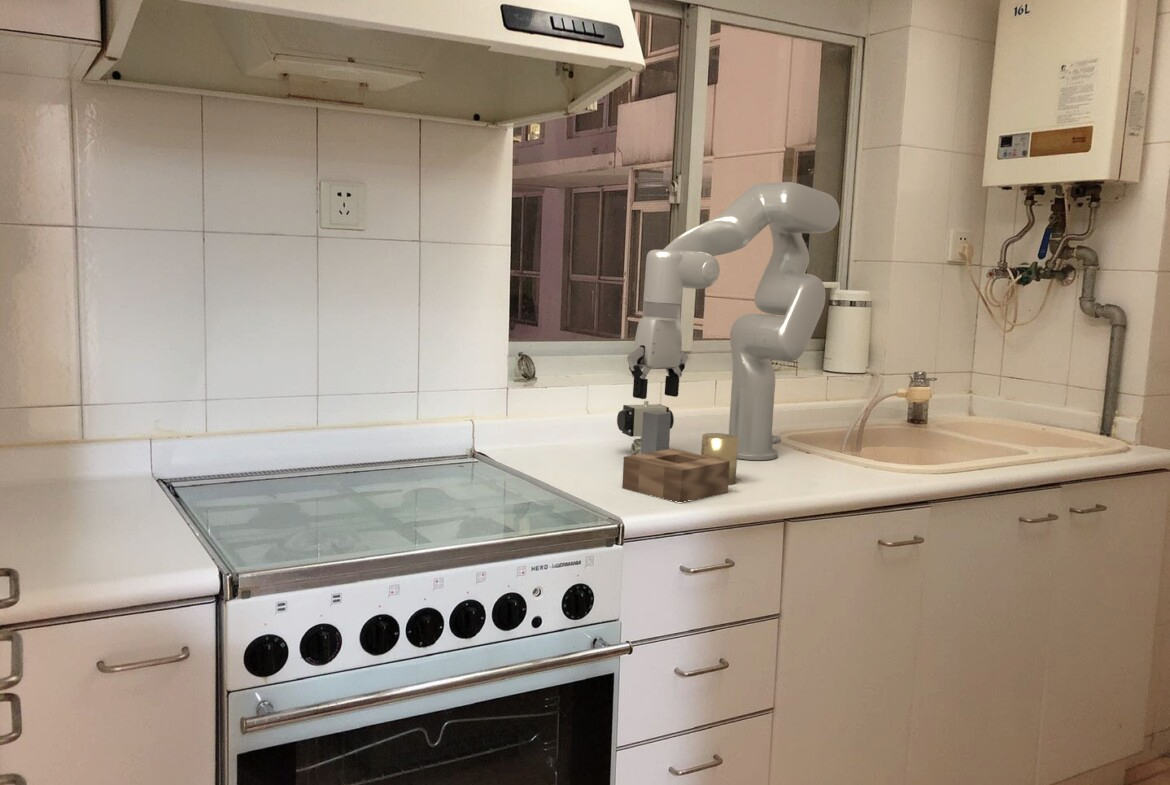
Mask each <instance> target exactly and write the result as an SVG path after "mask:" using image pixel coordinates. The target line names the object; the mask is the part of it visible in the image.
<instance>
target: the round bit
mask: <svg viewBox="0 0 1170 785" xmlns="http://www.w3.org/2000/svg"><path fill="white" fill-rule="evenodd" d="M737 451H738V437H737V436H735V435H731V434H729V433H721V432H720V433H718V432H710V433H709V432H708V433H703V434H702V436H701V453H700V455H704V456H709V457H713V458H718V459H723V460H727V461H730V465H729V481H728V486H734V485H736V484H737V483H736V481H737V468H738V467H737V466H738V463H737V462H738V458H737Z"/></svg>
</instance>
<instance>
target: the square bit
mask: <svg viewBox="0 0 1170 785" xmlns="http://www.w3.org/2000/svg"><path fill="white" fill-rule="evenodd" d="M670 421H671V413H669V412H663V411H658V410H654V411H645V412H643V423H642V443H641V454H643V453H649V452H655V451H661V450H667V449H670V436H671V429H670Z"/></svg>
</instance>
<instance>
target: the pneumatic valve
mask: <svg viewBox="0 0 1170 785" xmlns="http://www.w3.org/2000/svg"><path fill="white" fill-rule="evenodd" d="M654 410H658V411H663V412H669V413H671V421H670V430H671V429H673V427H674V421H675V420H674V418H675V417H674V413H673V411H672V410H671V409H670V407H668V406H666V405H663V404H659V403H658V404H655V403H654V404H653V403H652V404H650V403H649V400H644V401H643V404H623V407H622V410H619V411H618V413H617V417H616V424H617V428H618V430H619V431H620V432H621V433H622V434H624V435H626V436H628V437H634V439H633V440H632V443H631V446H630V450H631V452H632V453H633V455H637V454H641V443H642V423H643V412H645V411H654ZM635 437H637V438H635ZM638 437H639V438H638Z"/></svg>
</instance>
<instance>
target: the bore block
mask: <svg viewBox="0 0 1170 785" xmlns="http://www.w3.org/2000/svg"><path fill="white" fill-rule="evenodd" d="M622 463H623V464H622V465H623V466H622V487H621V488H622V489H624V490H627V489H628V490H627V491H631V490H632V491H631V492H635V491H636V492H635V493H639V492H640V493H639V494H642V493H644V494H643V495H646V494H648V495H647V496H650V495H652V496H651V497H654V496H656V497H655V498H657V497H660V498H659V499H661V498H664V499H663V500H665V499H668V500H667V501H669V500H672V501H671V502H673V501H677V502H684V501H688V500H693V499H697V500H699V499H698V498H701V499H705V498H704V497H706V498H710V497H713V495H714V496H718V494H719V495H722V494H726V493H727V494H728V493H729V485H728V481H729V465H730V461H727V460H723V459H718V458H713V457H709V456H704V455H701V454H699V453H694V452H690V451H685V450H680V449H676V448H669V449H667V450H661V451H655V452H649V453H643V454H632V455H626V456H623V462H622ZM709 496H710V497H709ZM693 501H694V500H693ZM688 502H689V501H688ZM684 503H685V502H684Z"/></svg>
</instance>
